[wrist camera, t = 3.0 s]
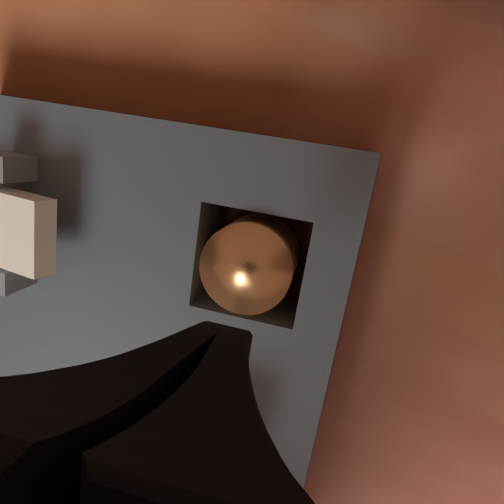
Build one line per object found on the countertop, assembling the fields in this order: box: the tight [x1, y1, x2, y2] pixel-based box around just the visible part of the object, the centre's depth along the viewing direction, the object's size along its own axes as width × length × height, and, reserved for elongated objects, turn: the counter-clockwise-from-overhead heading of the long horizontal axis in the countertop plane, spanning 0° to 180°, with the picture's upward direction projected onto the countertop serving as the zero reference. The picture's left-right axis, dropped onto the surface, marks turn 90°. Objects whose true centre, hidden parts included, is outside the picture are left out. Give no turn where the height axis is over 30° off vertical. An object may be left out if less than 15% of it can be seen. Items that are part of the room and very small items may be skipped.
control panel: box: [0, 95, 381, 488], centre depth 18 cm, size 18×18×5 cm
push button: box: [199, 213, 299, 315], centre depth 16 cm, size 4×4×3 cm
